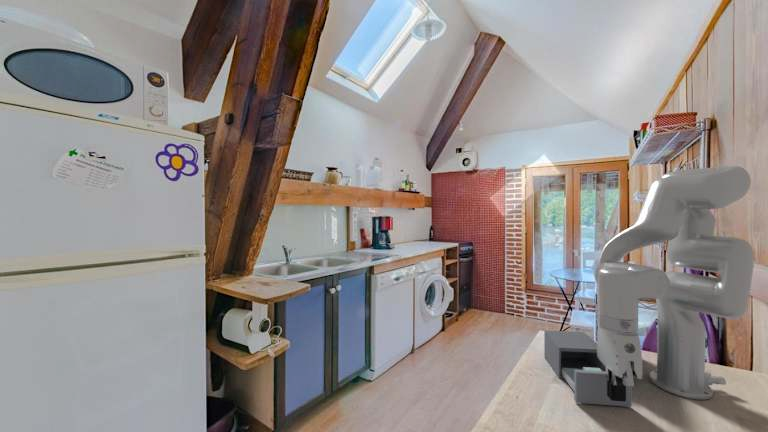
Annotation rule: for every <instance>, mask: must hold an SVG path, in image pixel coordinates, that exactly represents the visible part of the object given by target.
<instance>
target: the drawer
mask: <svg viewBox="0 0 768 432" xmlns="http://www.w3.org/2000/svg"><path fill="white" fill-rule="evenodd" d="M561 374H562V375H563V377H564V378H565V379H564V380H565V381H566V383H568V385H569V386H570V387H571V389H572V391H573V401H575V403H576V404H588V405H589V404H590V405H591V404H592V405H602V406H603V405H604V406H614V407H615V406H616V407H617V406H618V407H629V408H630V407H632V388H633V387H629V386H626V401H625V402H623V401H612V400H611V399H610V398H609V397H608V396H607V380H609V379H607V378H606V371H589V370H583V369H579V368H562V367H561Z"/></svg>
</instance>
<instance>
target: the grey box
mask: <svg viewBox="0 0 768 432" xmlns="http://www.w3.org/2000/svg"><path fill="white" fill-rule="evenodd" d="M543 336H544V343H543V345H544V346H543V347H544V350H543V351H544V356H543V357H544V359H545V360H547V361H546V363H548V364H550V365H549V366H550V367H552V368H551V369H552V371H553V372H554V373H555V375H556V376H557V377H558V379H563V380H565V378H564V377H563V375H562V374H561V367H562V368H579V369H583V367H591V368H600V369H601V370H602V371H604V364H603V363H602V362H601V361H600V360H599V358H598V356H597V341H595V340H593V338H591V337H590V336H589V334H587V333H586V332H584V331H567V330H566V331H564V330H544V335H543Z"/></svg>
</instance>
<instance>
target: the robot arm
mask: <svg viewBox="0 0 768 432" xmlns="http://www.w3.org/2000/svg"><path fill="white" fill-rule="evenodd" d="M751 183H752V182H751V176H750V174H749V172H748V171H747V170H746V169H745V168H744V167H741V166H737V165H729V166H718V167H703V168H702V167H701V168H692V169H691V168H690V169H689V168H688V169H687V168H686V169H681V170H674V171H670V172H667V173H664V174H663V175H661V177H660V178H657V179H656V180H654V181H653V182H652V183H651V185H650V186H649V188H648V191H647V193H646V195H645V198H644V200H643V203H642V206H641V208H640V210H639V212H638V216H637V218H636V220H635V222H634V224H633V225H631V226H630V227H628V228H626V229H624V230H623V231H621V232H619V233H618V234H616V235H615V236H614V237H613V238H611V239H610V240H609V241H608V242H607V243H606V244H605V245H604V247H602V250H601V252H600V255H599V257H598V259H597V261H596V265H595V269H594V273H593V274H594V281H595V283H596V284H597V301H596V302H597V312H596V313H597V314H596V315H597V317H596V318H597V319H596V320H597V321H596V323H597V327H598V328H597V336H596V343H597V356H598V358H599V360H600V361H601V362H602V363H603V364H604V366H605V370H606V378H607V379H609V380H607V396H608V397H609V398H610V399H611V400H612V401H623V402H625V401H626V386H629V387H632V388H633V387H635V383H634V382H635V381H634V378H635V379H637V380H642V379H643V371H644V370H643V356H642V346H641V341H640V336H639V334H638V332H639V300H655V302H656V308H657V310H656V311H657V332H656V333H657V338H656V339H657V340H656V341H657V343H656V348H657V349H656V369H655V370H652V371H650V372H649V379H650V381H651V382H652V383H653V384H654V385H655V386H657V387H658V388H660V389H662V390H664V391H666V392H668V393H671V394H674V395H676V396H680V397H683V398H687V399H692V400H699V401H700V400H708V399H711V398H712V397H713V395H714V393H713V392H714V391H713V389H712V387H710V386H712V385H724V386H725V385H727V381H726V379H725V378H724V377H723V376H717V375H716V376H715V375H713V376H712V373H710V372H706V369H705V368H706V335H707V330H706V326H705V323H704V321H703V320H702V318H701V317H700V315H699V314H698V313H701V314H706V315H709V316H710V315H711V316H714V317H719V318H723V319H728V320H729V319H731V320H736V319H737V320H738V319H740V318H742V317H743V316H744V315H745V314H746V312H747V309H748V306H749V302H750V301H749V299H750V294H751V287H752V281H753V280H752V279H753V271H754V266H755V254H754V249H753V246H752V245H751V244H750V242H748V241H747V240H745V239H743V238H740V237H735V236H734V237H733V236H722V235H721V236H719V235H715V228H716V217H715V214H714V213H712V211H711V210H715V209H716V210H717V209H723V208H726V207H727V206H730V205H732V204H733V203H736V202H737V201H739V200H741V199H742V198H744V197H745V196H746V194H747V193H748V191H750V187H751ZM666 242H668V245H667V251H666V254H667V255H666V256H667V261H668V262H669V264H671V265H673V266H675V267H679V268H683V269H689V270H694V271H703V272H709V273H715V274H719V275H720V278H719V277H713V276H707V275H701V274H694V273H688V272H682V271H663V270H662V269H660V268H658V267H655V266H650V265H643V264H635V263H629V262H625V261H624V262H623V261H621V260H623V258H624V257H625V256H626V255H628V254H629V253H631V252H633V251H635V250H638V249H642V248H645V247H650V246H654V245H657V244H658V245H659V244H662V243H666Z"/></svg>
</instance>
